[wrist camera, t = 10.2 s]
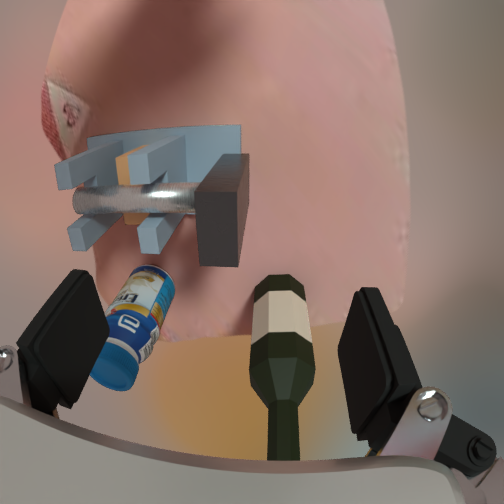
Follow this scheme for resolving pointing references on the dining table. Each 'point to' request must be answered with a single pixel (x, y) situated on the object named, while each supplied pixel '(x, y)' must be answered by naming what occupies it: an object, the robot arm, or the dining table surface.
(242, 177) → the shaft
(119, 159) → the tan square block
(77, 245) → the bearing block
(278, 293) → the wine bottle
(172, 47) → the dining table surface
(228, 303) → the dining table surface
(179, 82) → the dining table surface
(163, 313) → the beverage bottle
